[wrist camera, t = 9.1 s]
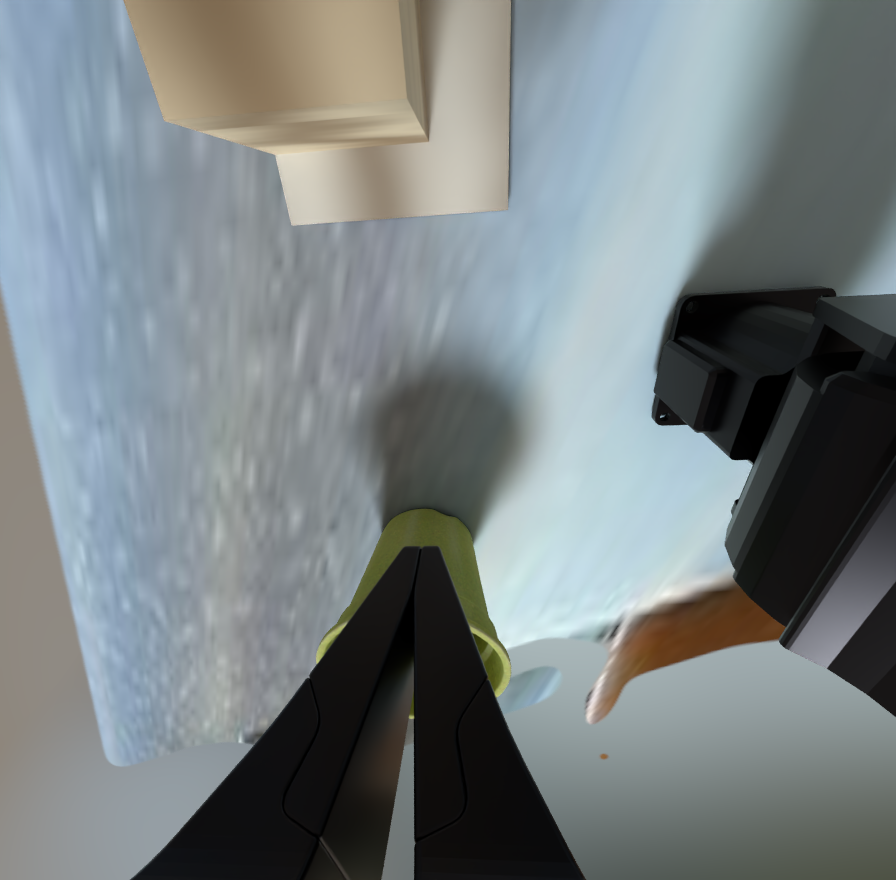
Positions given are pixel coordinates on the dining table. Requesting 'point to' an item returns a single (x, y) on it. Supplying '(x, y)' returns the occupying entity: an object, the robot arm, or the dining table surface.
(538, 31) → the dining table surface
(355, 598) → the plant pot
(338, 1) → the block
